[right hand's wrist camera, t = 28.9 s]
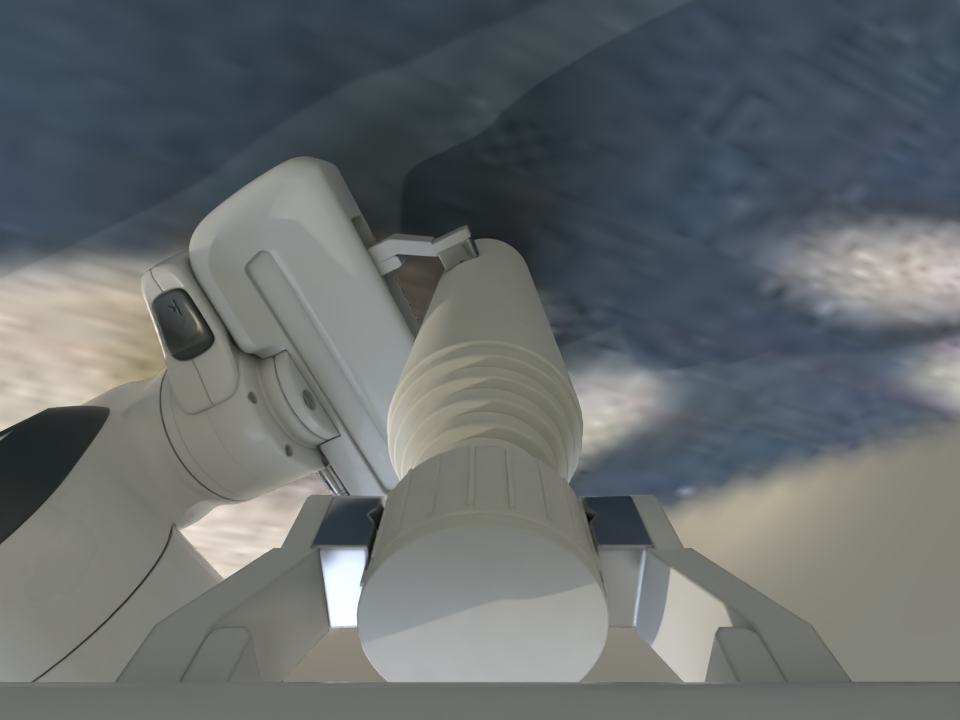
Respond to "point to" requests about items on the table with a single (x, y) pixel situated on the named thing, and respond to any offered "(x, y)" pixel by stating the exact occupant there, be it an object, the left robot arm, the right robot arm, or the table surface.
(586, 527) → the cap
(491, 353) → the bottle
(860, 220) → the table surface
